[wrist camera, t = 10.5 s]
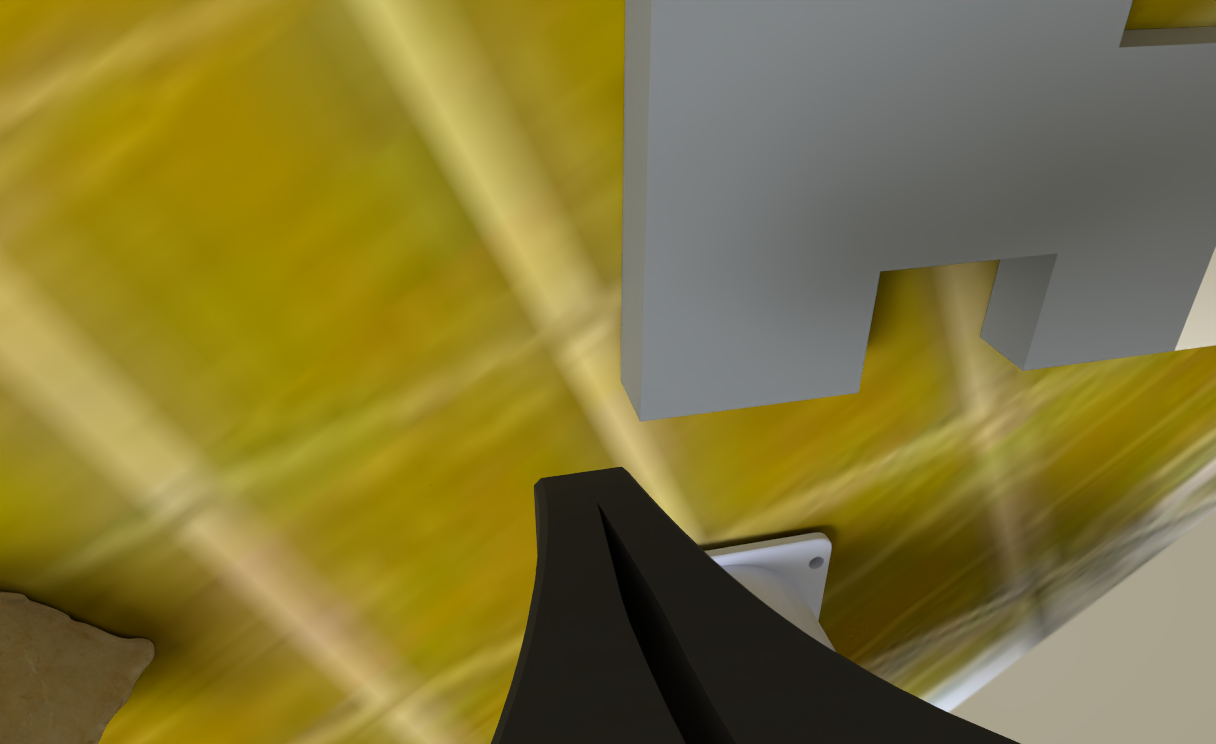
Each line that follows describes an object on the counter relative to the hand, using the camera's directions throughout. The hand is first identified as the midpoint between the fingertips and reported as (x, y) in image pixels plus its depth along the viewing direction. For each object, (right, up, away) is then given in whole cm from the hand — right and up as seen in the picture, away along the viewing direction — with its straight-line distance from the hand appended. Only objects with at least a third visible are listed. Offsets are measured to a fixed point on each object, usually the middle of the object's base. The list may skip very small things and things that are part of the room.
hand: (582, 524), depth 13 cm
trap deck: (+12, +8, +9) cm, 17 cm away
